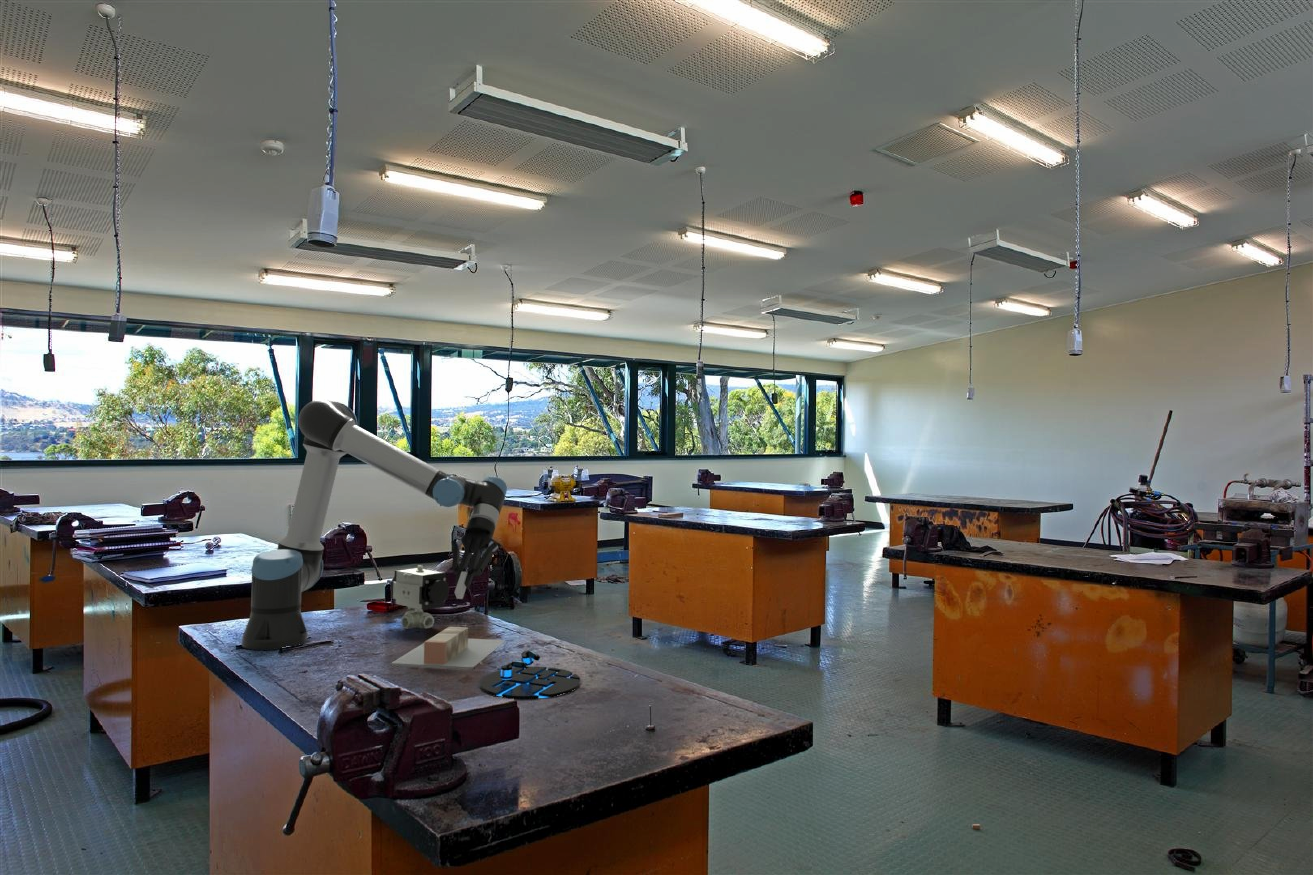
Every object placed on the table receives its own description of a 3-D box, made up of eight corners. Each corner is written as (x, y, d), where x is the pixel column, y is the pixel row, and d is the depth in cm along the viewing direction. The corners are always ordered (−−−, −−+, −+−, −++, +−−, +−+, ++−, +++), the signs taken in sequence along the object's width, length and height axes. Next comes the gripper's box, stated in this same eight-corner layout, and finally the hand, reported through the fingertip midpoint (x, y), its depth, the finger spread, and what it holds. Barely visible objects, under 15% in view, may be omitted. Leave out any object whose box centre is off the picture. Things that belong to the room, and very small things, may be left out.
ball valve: (384, 625, 219) (386, 564, 219) (409, 621, 226) (411, 561, 226) (424, 635, 209) (426, 570, 209) (449, 630, 215) (450, 567, 216)
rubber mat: (433, 639, 205) (433, 636, 205) (505, 642, 203) (505, 640, 203) (390, 665, 179) (390, 662, 179) (473, 669, 177) (473, 667, 177)
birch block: (449, 626, 196) (424, 641, 180) (468, 627, 195) (444, 642, 179) (448, 646, 196) (423, 663, 180) (467, 647, 195) (444, 664, 179)
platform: (596, 677, 175) (597, 649, 175) (551, 706, 154) (551, 674, 154) (512, 666, 182) (513, 639, 182) (458, 692, 161) (459, 661, 162)
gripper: (507, 533, 213) (486, 605, 196) (462, 531, 214) (437, 602, 197) (502, 516, 208) (480, 588, 191) (456, 514, 209) (430, 585, 192)
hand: (458, 595), depth 194 cm, fingers closed
